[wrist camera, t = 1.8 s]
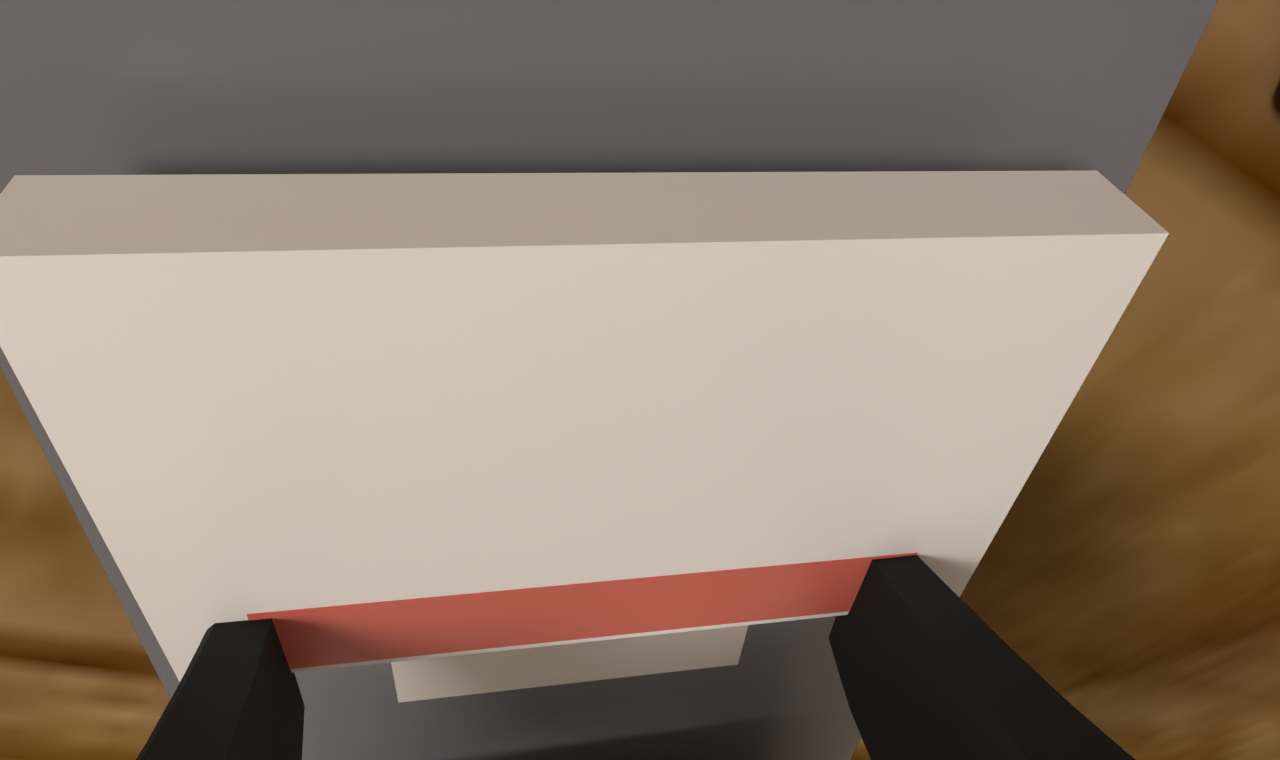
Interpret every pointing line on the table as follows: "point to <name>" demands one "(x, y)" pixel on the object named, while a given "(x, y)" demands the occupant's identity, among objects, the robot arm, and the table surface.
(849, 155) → the rocker switch panel
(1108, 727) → the table surface
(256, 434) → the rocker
